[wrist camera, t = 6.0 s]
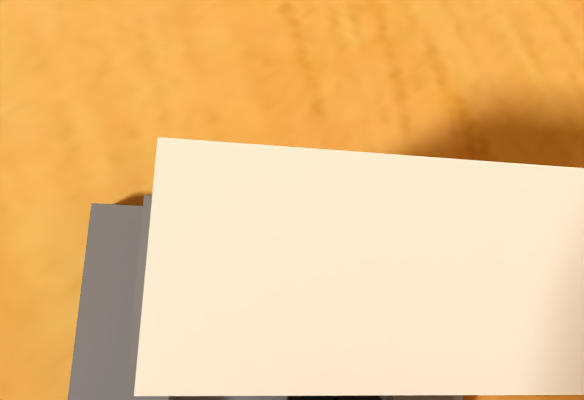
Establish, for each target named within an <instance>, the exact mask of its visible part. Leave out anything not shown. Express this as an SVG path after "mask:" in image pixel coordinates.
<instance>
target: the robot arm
mask: <svg viewBox="0 0 584 400" xmlns="http://www.w3.org/2000/svg"><path fill="white" fill-rule="evenodd" d="M286 400H382V398H381V397H380V396H379V395H358V396H287V399H286Z"/></svg>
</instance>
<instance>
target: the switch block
mask: <svg viewBox="0 0 584 400" xmlns="http://www.w3.org/2000/svg"><path fill="white" fill-rule="evenodd" d="M151 204H152V195H144V200H143V206H135V205H115V204H96V203H92V204H91V212H90V220H89V228H88V237H87V245H86V253H85V261H84V270H83V278H82V286H81V295H80V303H79V311H78V319H77V328H76V336H75V344H74V352H73V361H72V369H71V377H70V386H69V394H68V400H286V399H287V396H134V388H135V378H136V367H137V356H138V345H139V334H140V323H141V313H142V302H143V291H144V280H145V269H146V258H147V248H148V237H149V226H150V215H151ZM379 396H380V397H381V398H382V400H463V395H379Z"/></svg>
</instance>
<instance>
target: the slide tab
mask: <svg viewBox="0 0 584 400" xmlns="http://www.w3.org/2000/svg"><path fill="white" fill-rule="evenodd" d="M358 395H584V168H575V167H561V166H547V165H534V164H520V163H506V162H492V161H478V160H465V159H451V158H437V157H423V156H409V155H396V154H382V153H368V152H354V151H340V150H326V149H313V148H299V147H285V146H271V145H257V144H244V143H230V142H216V141H202V140H188V139H175V138H161V137H158V139H157V150H156V161H155V172H154V183H153V194H152V204H151V215H150V226H149V237H148V248H147V258H146V269H145V280H144V291H143V302H142V313H141V323H140V334H139V345H138V356H137V367H136V378H135V388H134V396H358Z"/></svg>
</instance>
